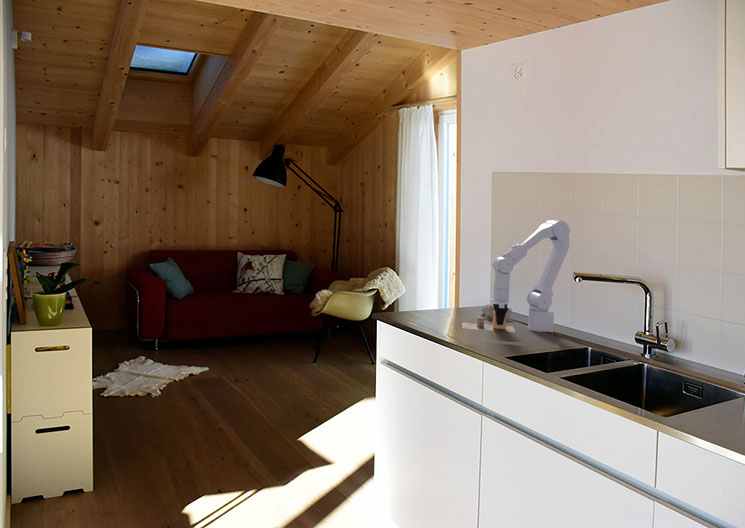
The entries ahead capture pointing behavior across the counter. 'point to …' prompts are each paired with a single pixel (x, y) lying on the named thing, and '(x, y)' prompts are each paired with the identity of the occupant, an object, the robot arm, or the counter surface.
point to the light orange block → (496, 322)
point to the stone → (488, 312)
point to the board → (485, 326)
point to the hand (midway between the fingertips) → (499, 323)
